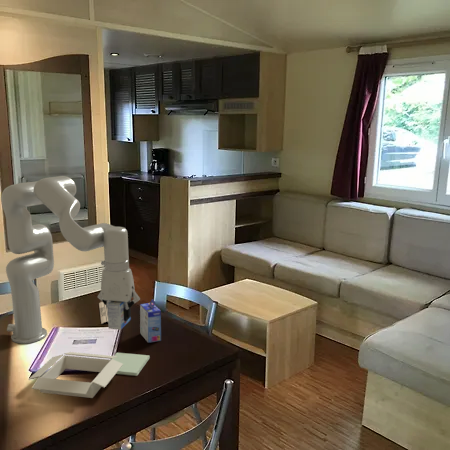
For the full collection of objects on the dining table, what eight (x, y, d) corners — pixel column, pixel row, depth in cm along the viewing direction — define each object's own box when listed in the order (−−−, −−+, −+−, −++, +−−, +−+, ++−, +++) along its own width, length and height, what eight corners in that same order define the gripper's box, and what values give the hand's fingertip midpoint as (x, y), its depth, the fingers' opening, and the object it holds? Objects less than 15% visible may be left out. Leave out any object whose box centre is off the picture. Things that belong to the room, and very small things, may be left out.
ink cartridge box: (162, 340, 178) (161, 304, 175) (148, 343, 176) (146, 307, 173) (153, 330, 187) (152, 296, 184) (140, 333, 185) (138, 298, 182)
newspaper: (116, 324, 195) (116, 320, 194) (98, 326, 193) (98, 322, 192) (112, 304, 217) (112, 300, 216) (96, 305, 215) (96, 301, 214)
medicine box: (120, 330, 152) (119, 304, 150) (108, 328, 153) (106, 303, 151) (130, 320, 160) (130, 296, 158) (118, 319, 161) (117, 295, 159)
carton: (20, 398, 141) (19, 382, 140) (60, 361, 163) (59, 347, 162) (99, 407, 137) (98, 390, 136) (128, 367, 159) (128, 353, 158)
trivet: (102, 372, 156) (102, 369, 156) (117, 355, 167) (116, 352, 167) (137, 375, 154) (137, 372, 154) (149, 358, 165) (149, 355, 165)
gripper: (87, 267, 150) (90, 321, 154) (137, 270, 147) (139, 325, 151) (97, 260, 157) (100, 312, 161) (146, 263, 154) (148, 316, 158)
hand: (119, 318), depth 156 cm, fingers closed on medicine box, 4 cm apart
